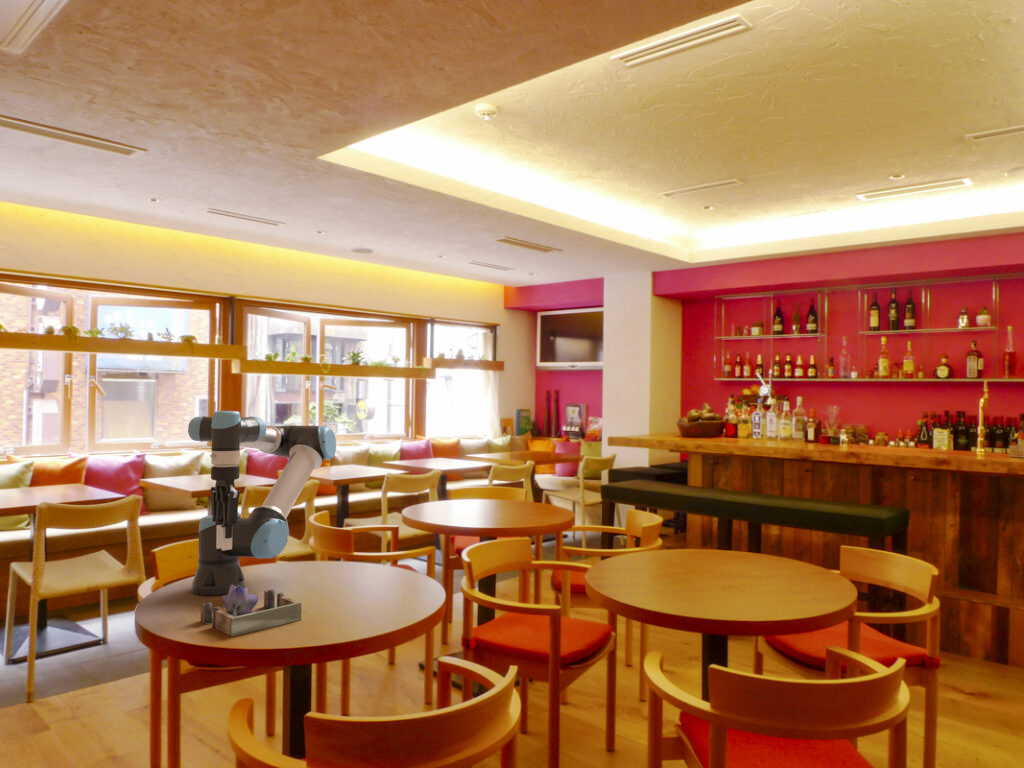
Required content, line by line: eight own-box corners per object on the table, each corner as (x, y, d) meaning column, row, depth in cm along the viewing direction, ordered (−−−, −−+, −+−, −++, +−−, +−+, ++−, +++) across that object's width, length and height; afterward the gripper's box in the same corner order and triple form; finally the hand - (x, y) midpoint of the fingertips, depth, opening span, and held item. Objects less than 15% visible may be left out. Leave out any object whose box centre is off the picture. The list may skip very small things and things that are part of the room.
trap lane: (199, 621, 187) (200, 602, 187) (268, 605, 202) (269, 587, 202) (231, 637, 175) (231, 616, 175) (302, 619, 189) (302, 600, 189)
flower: (252, 598, 186) (247, 574, 194) (220, 614, 183) (215, 589, 191) (266, 620, 191) (260, 596, 199) (234, 636, 188) (229, 611, 196)
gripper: (200, 464, 203) (198, 546, 203) (225, 468, 192) (223, 555, 192) (225, 462, 208) (224, 542, 208) (251, 466, 198) (250, 550, 197)
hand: (224, 548), depth 200 cm, fingers open, 3 cm apart
